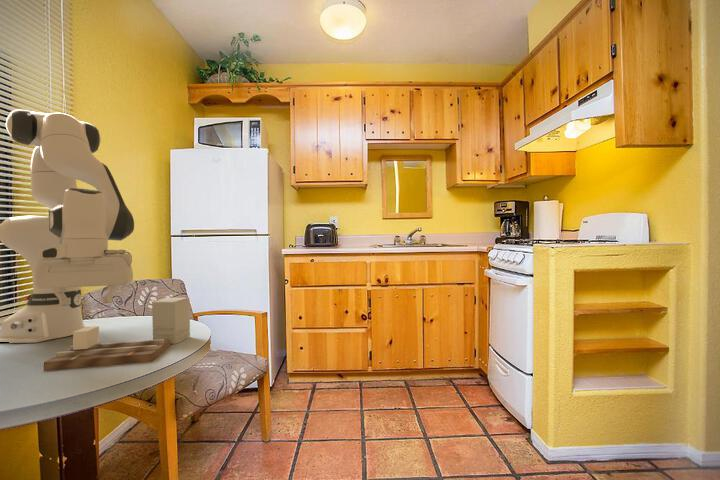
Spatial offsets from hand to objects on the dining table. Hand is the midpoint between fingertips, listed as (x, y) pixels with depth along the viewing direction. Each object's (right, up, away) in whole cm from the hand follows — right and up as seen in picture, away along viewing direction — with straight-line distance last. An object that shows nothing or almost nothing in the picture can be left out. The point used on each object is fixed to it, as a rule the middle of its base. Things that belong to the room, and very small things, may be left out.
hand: (86, 304), depth 81 cm
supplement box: (+13, -15, +15) cm, 25 cm away
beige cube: (0, -12, 0) cm, 12 cm away
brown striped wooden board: (+6, -14, +2) cm, 15 cm away
